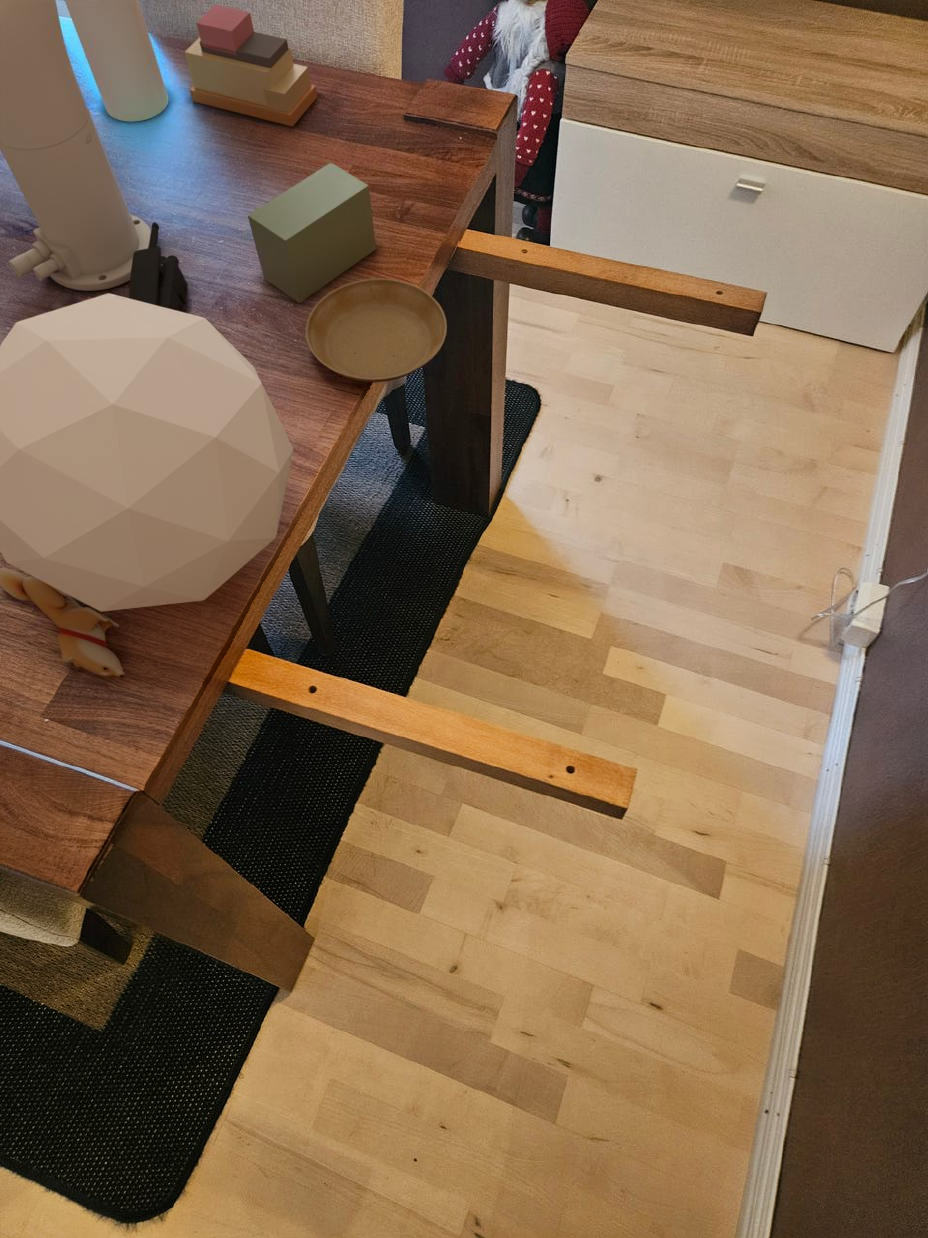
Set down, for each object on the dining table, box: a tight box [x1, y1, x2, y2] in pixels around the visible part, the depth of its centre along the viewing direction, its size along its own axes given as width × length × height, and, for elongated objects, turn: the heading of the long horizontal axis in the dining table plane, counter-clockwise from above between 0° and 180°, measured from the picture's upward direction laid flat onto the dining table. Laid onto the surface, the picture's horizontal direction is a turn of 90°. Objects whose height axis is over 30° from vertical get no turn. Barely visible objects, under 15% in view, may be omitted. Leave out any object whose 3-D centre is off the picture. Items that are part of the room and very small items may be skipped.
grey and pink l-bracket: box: [195, 4, 289, 68], centre depth 105 cm, size 10×5×3 cm, turn 67°
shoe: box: [184, 36, 318, 127], centre depth 109 cm, size 15×7×6 cm, turn 67°
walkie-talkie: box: [128, 221, 189, 313], centre depth 92 cm, size 6×6×20 cm
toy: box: [0, 567, 125, 679], centre depth 73 cm, size 3×17×5 cm
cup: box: [64, 0, 169, 122], centre depth 104 cm, size 8×8×16 cm
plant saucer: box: [305, 277, 448, 383], centre depth 89 cm, size 15×15×3 cm
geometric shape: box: [0, 292, 294, 612], centre depth 67 cm, size 24×25×25 cm
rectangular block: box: [247, 162, 377, 304], centre depth 93 cm, size 12×6×8 cm, turn 137°
